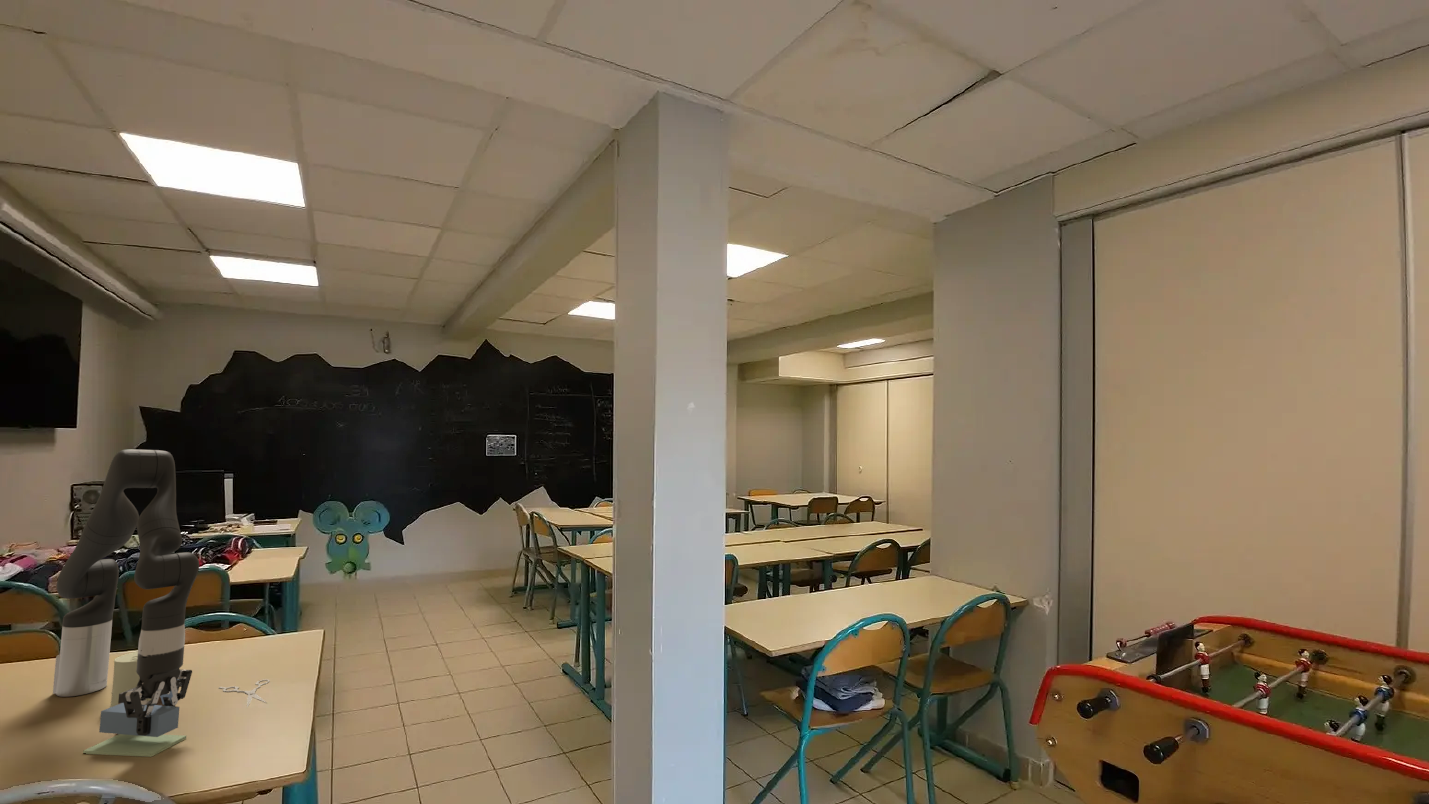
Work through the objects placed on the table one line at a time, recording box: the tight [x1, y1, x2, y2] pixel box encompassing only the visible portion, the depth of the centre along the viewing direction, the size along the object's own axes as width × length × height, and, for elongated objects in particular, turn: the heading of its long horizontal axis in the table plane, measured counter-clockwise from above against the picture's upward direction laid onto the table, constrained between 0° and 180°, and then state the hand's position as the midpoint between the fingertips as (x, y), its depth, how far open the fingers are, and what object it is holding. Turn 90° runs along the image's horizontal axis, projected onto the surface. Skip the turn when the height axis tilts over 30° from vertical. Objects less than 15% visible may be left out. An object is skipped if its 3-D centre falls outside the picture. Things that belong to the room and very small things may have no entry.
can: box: [109, 651, 151, 708], centre depth 153 cm, size 9×9×12 cm
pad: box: [82, 734, 187, 758], centre depth 132 cm, size 15×8×1 cm, turn 87°
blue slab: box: [98, 703, 180, 737], centre depth 132 cm, size 14×4×4 cm, turn 83°
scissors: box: [218, 678, 271, 708], centre depth 159 cm, size 11×1×20 cm
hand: (155, 728), depth 132 cm, fingers closed on blue slab, 4 cm apart
